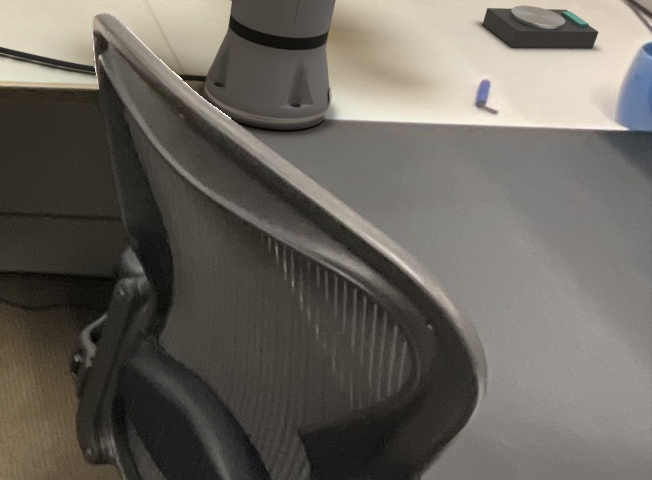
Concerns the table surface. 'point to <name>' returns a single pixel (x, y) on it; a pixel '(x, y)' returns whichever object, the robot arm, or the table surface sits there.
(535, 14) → the scale
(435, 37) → the table surface
